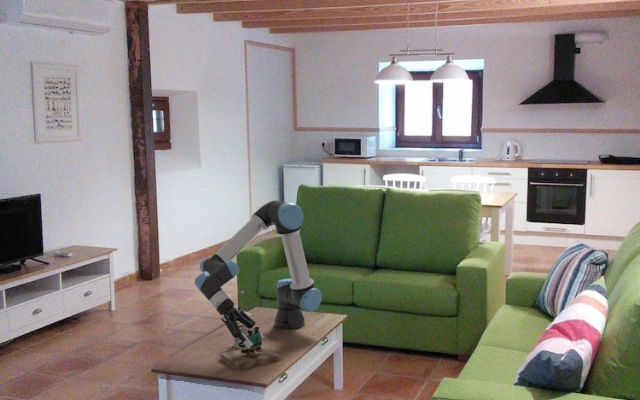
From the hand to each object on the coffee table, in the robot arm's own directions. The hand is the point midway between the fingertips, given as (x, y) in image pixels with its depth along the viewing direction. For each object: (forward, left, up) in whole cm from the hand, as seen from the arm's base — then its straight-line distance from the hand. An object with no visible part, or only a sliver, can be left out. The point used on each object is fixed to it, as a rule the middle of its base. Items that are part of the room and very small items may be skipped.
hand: (256, 342), depth 290 cm
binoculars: (+2, -3, -5) cm, 6 cm away
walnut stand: (+2, -3, -8) cm, 8 cm away
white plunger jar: (-4, -23, -8) cm, 24 cm away
